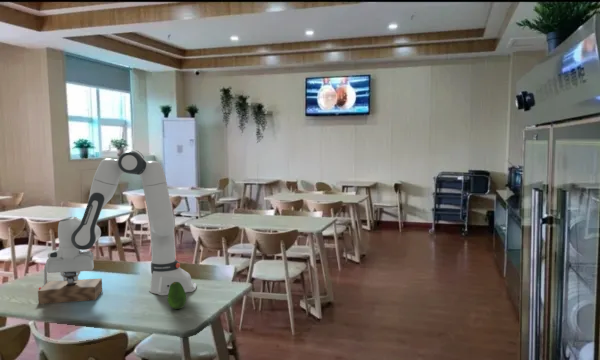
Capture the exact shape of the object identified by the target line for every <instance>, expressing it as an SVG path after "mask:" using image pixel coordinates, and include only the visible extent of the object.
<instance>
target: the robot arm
mask: <svg viewBox="0 0 600 360" xmlns="http://www.w3.org/2000/svg"><path fill="white" fill-rule="evenodd" d="M124 174H129V175H138V176H140V179H141V185H142V188H143V194H144V198H145V203H146V207H147V213H148V217H149V223H150V224H149V226H150V248H151V261H150V262H151V263H150V273H151V277H150V278H151V280H150V285H149V292H150V293H151V294H157V295H159V296H168V292H169V288H170V285H171V284H172V283H173V282H179V283H180V284H181V285H182V287H183V289H184V291H185V293H186V294H187V293H191V292H192V293H193V292H194V291H196V289H197V283H196V282H194V281H192V277H191V274H190V272H187V271H186V270H185V269H183V268H181V262H180V260H176V247H175V246H176V245H175V243H176V242H175V232H174V229H175V227H176V220H175V216H174V212H173V208H172V207H173V206H172V203H171V202H172V201H171V198H170V195H169V194H170V193H169V189H168V188H169V187H168V184H167V179H166V175H165V174H166V173H165V172H164V168H163V167H162V164H161V163H160V162H159V161H157V160H147V159H145V156H144V155H143V153H141V152H140V151H139V150H136V149H127V150H125V151H123V152H122V153H121V154H120V155H119V157H118V158H113V157H112V158H111V157H110V158H109V157H108V158H107V157H105V158H103V159H101V160H100V162H99V165H98V166H97V167H96V171H95V173H94V175H93V178H92V183H91V186H90V191H89V196H88V200H87V205H86V208H85V210H84V213H83V216H82V219H79V218H78V217H77V216H70V217H69V216H68V217H65V218H63V219H61V220H60V221H58V226H57V238H58V241H59V242H58V248H56V249H53V250H51V251H49V252H48V253H47V259H46V262H45V265H46V271H47V274H50V273H51V274H55V273H60V276H61V277H62V278H63V281H67V278H66V277H65V272H75V271H76V274H77V275H76V276H75V277H74V281H77V280H79V276H80V274H81V272H88V271H89V272H90V271H92V270H93V269H94V267H95V264H94V253H93V252H92V251H91V250H89V249H91V248H92V247H94V245H95V243H96V242H97V241H99V239H100V238H101V235H102V229H101V227H100V226H99V225H98V224H97V223H98V221H99V217H100V215H101V212H102V210H103V208H104V207H105V206H106V205H107V203H109V202H110V200H111V199H112V198H113V197H114V195H115V192H116V191H117V190H118V189H117V188H118V185H119V183H120V179H121V176H122V175H124Z"/></svg>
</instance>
